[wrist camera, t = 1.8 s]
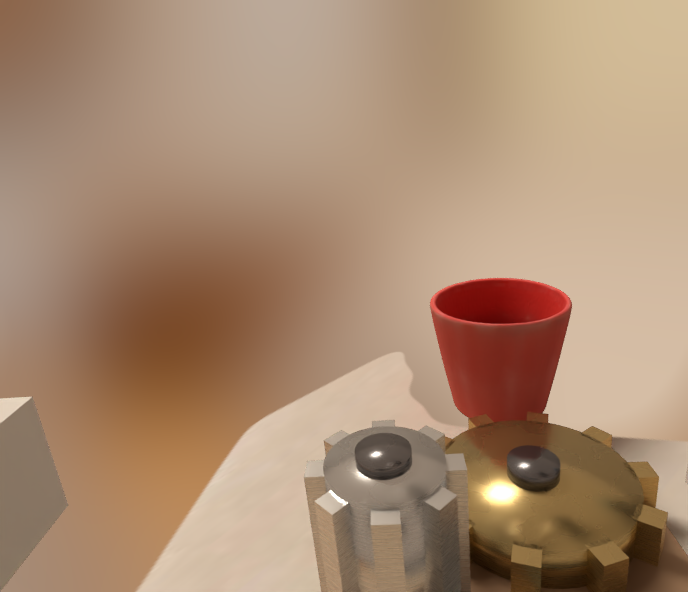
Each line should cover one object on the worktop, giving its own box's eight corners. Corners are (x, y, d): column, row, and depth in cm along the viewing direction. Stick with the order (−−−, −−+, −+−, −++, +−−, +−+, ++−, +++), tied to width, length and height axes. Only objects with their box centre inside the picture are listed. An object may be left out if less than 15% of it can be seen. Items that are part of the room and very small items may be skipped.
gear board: (602, 447, 39) (603, 432, 38) (863, 837, 18) (872, 813, 18) (346, 459, 40) (344, 445, 40) (315, 829, 20) (311, 807, 19)
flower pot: (542, 454, 39) (546, 333, 35) (413, 415, 45) (406, 310, 42) (582, 389, 46) (588, 285, 43) (466, 364, 53) (464, 272, 50)
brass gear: (603, 437, 38) (606, 395, 37) (717, 602, 25) (727, 546, 24) (412, 446, 39) (409, 406, 38) (430, 609, 27) (426, 555, 25)
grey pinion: (459, 572, 28) (453, 402, 25) (483, 706, 22) (479, 503, 19) (335, 575, 29) (312, 410, 26) (324, 708, 23) (291, 510, 19)
